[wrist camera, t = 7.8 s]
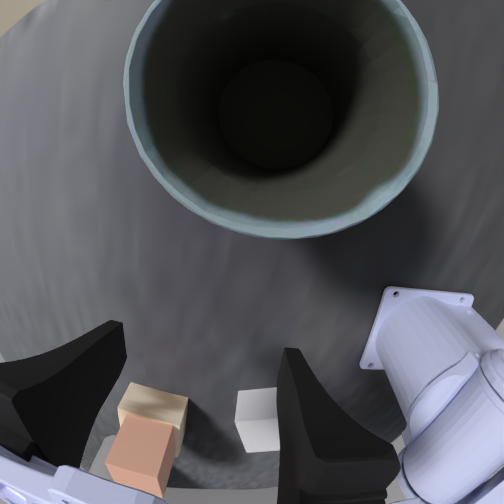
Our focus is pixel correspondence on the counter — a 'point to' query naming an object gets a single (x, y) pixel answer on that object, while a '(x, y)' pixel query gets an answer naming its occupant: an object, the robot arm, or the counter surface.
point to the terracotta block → (142, 455)
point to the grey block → (258, 420)
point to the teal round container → (281, 109)
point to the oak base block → (155, 408)
